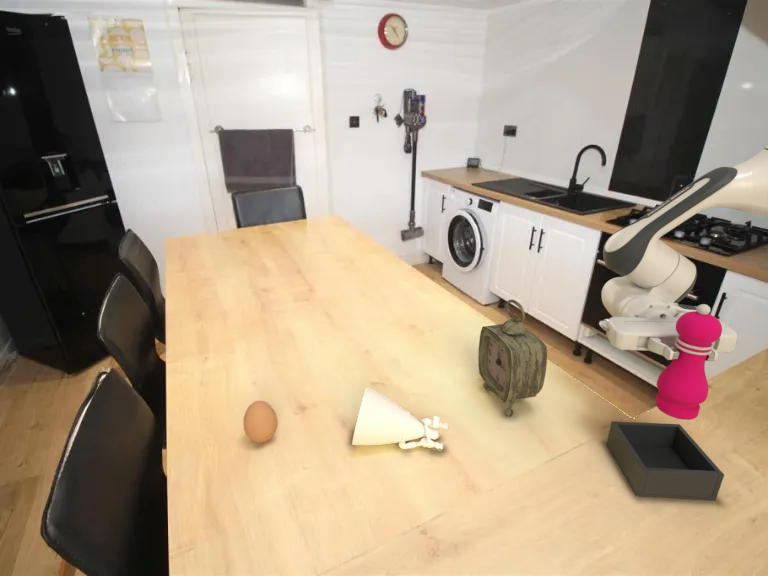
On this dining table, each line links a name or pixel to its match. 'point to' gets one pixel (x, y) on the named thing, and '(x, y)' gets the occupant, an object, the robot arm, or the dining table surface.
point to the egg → (260, 421)
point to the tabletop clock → (512, 360)
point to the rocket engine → (392, 424)
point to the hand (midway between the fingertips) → (693, 356)
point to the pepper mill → (688, 365)
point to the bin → (663, 461)
